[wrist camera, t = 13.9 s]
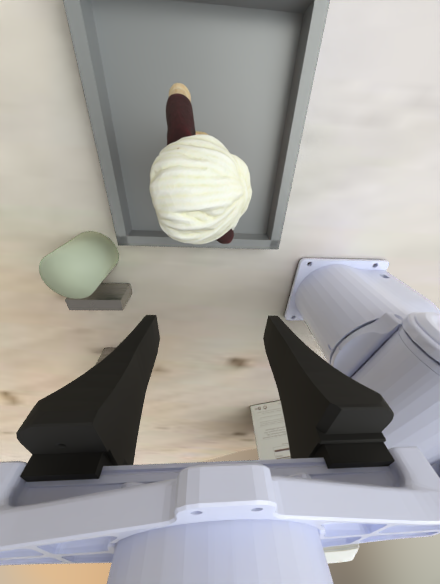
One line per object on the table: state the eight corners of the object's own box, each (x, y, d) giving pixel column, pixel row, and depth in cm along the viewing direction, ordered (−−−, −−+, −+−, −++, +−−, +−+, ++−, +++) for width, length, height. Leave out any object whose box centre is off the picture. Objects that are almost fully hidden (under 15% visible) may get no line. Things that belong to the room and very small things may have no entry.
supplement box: (304, 421, 41) (354, 561, 27) (257, 429, 42) (282, 569, 28) (302, 394, 36) (362, 551, 22) (248, 405, 37) (273, 560, 23)
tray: (315, 0, 13) (335, -28, 11) (271, 239, 21) (278, 249, 19) (76, -24, 12) (49, -61, 10) (127, 235, 20) (118, 245, 18)
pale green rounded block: (113, 232, 20) (88, 253, 15) (122, 270, 22) (102, 299, 18) (68, 230, 19) (29, 252, 15) (81, 270, 21) (51, 298, 17)
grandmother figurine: (150, 134, 15) (13, 90, 4) (195, 97, 14) (159, -65, 4) (207, 227, 19) (208, 323, 8) (246, 203, 18) (302, 278, 7)
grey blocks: (130, 283, 23) (120, 300, 20) (145, 353, 29) (139, 373, 26) (81, 283, 22) (64, 299, 20) (106, 354, 28) (97, 373, 26)
